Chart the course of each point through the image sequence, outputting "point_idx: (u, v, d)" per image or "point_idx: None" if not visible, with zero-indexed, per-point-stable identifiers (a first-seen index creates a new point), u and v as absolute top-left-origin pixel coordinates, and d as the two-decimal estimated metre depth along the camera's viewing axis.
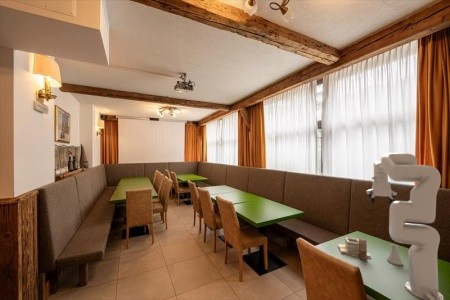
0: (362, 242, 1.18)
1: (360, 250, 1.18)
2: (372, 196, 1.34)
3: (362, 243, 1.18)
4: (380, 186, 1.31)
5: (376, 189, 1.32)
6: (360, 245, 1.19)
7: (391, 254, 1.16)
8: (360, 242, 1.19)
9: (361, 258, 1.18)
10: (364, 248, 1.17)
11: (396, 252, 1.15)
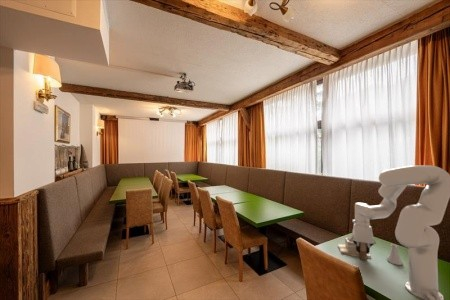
0: None
1: (360, 250, 1.18)
2: (357, 244, 1.19)
3: (362, 243, 1.18)
4: (361, 232, 1.17)
5: (357, 234, 1.18)
6: (360, 245, 1.19)
7: (391, 254, 1.16)
8: (360, 242, 1.19)
9: (361, 258, 1.18)
10: (364, 248, 1.17)
11: (396, 252, 1.15)
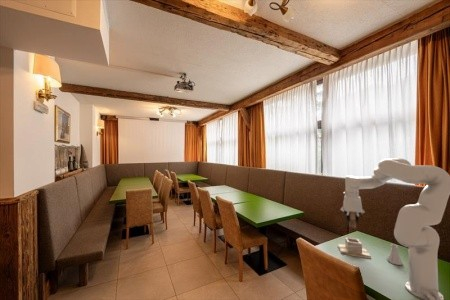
0: None
1: (350, 219, 1.29)
2: (347, 213, 1.29)
3: (351, 212, 1.28)
4: (351, 202, 1.27)
5: (347, 204, 1.28)
6: (350, 214, 1.29)
7: (391, 254, 1.16)
8: None
9: (351, 226, 1.28)
10: (353, 217, 1.27)
11: (396, 252, 1.15)
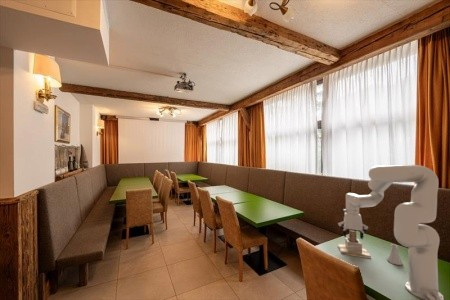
0: (352, 233, 1.27)
1: (350, 241, 1.28)
2: (344, 229, 1.30)
3: (352, 234, 1.27)
4: (351, 220, 1.27)
5: (347, 222, 1.28)
6: (350, 236, 1.28)
7: (391, 254, 1.16)
8: (350, 233, 1.28)
9: None
10: (354, 239, 1.27)
11: (396, 252, 1.15)
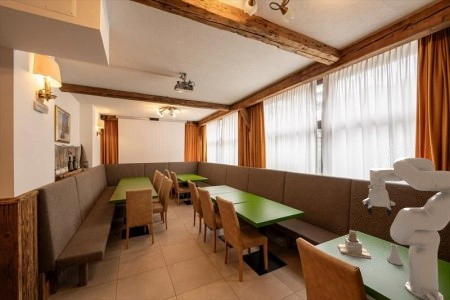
0: (352, 233, 1.27)
1: (350, 241, 1.28)
2: (369, 206, 1.22)
3: (351, 234, 1.28)
4: (377, 196, 1.20)
5: (373, 199, 1.20)
6: (350, 236, 1.28)
7: (391, 254, 1.16)
8: (350, 233, 1.28)
9: None
10: (354, 239, 1.27)
11: (396, 252, 1.15)
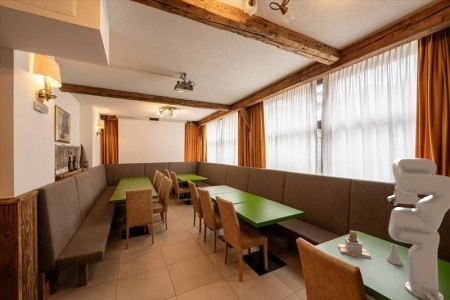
0: (352, 233, 1.27)
1: (350, 241, 1.28)
2: (394, 204, 1.16)
3: (352, 234, 1.27)
4: (404, 193, 1.13)
5: (399, 196, 1.14)
6: (351, 236, 1.28)
7: (391, 254, 1.16)
8: (351, 233, 1.28)
9: None
10: (354, 239, 1.27)
11: (396, 252, 1.15)
